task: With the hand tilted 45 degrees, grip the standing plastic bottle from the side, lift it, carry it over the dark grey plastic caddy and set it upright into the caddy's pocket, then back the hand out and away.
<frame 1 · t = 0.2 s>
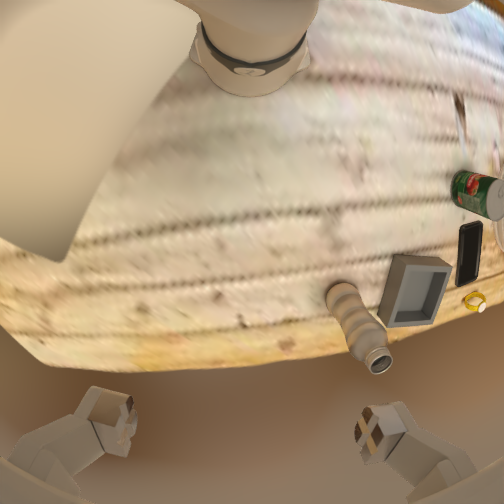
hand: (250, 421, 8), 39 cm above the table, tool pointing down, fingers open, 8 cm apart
caddy: (409, 286, 53), on the table
watch: (468, 295, 55), on the table
phone: (467, 253, 51), on the table
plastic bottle: (339, 293, 52), on the table
canned tomato: (462, 188, 46), on the table
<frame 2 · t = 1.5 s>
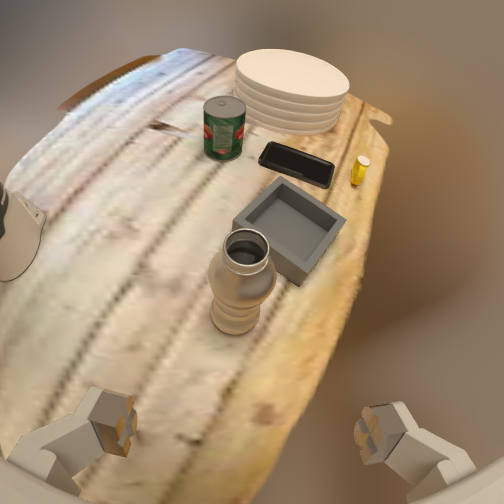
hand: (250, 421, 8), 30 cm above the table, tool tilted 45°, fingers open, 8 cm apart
caddy: (286, 236, 48), on the table
plate stack: (285, 105, 69), on the table
watch: (353, 179, 57), on the table
phone: (296, 166, 57), on the table
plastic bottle: (234, 316, 41), on the table
canned tomato: (222, 149, 57), on the table
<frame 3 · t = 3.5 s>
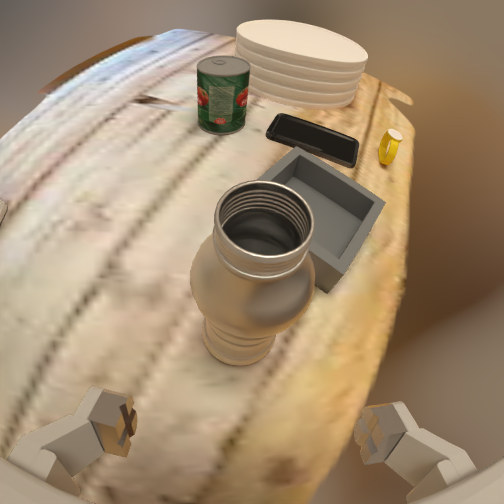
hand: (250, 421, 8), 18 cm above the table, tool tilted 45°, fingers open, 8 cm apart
caddy: (306, 225, 35), on the table
plate stack: (294, 79, 56), on the table
watch: (381, 159, 44), on the table
phone: (313, 142, 45), on the table
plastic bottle: (237, 337, 28), on the table
canned tomato: (221, 122, 44), on the table
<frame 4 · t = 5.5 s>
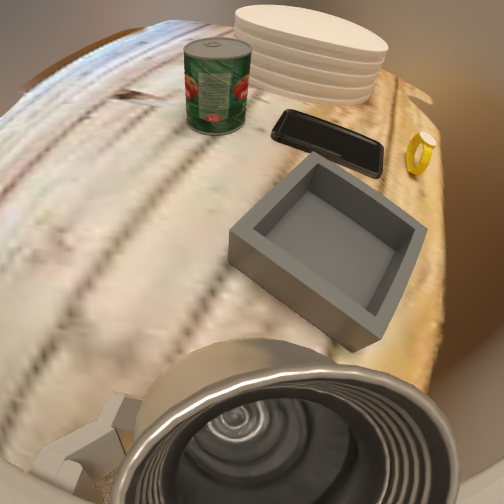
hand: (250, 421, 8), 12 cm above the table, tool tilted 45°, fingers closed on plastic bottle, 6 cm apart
caddy: (326, 258, 26), on the table
plate stack: (302, 71, 47), on the table
watch: (409, 167, 35), on the table
phone: (329, 145, 36), on the table
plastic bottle: (235, 416, 19), on the table, touching gripper
canned tomato: (215, 119, 36), on the table
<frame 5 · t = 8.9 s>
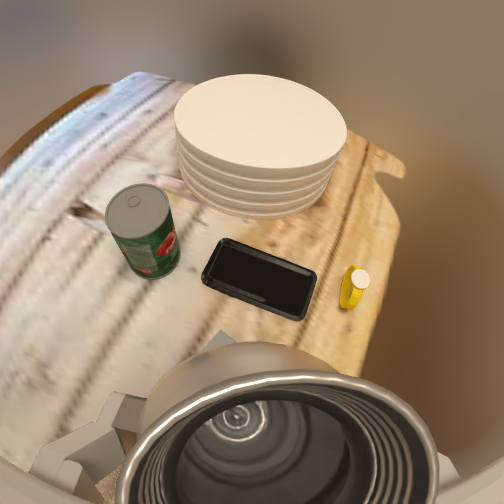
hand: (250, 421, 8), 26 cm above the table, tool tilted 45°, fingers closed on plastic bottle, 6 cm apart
plate stack: (255, 160, 52), on the table
watch: (344, 295, 40), on the table
phone: (259, 281, 40), on the table
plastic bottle: (237, 416, 19), point 13 cm above the table, touching gripper
canned tomato: (154, 255, 40), on the table
when the fingers open (15 cm above the table, at t = 12.1 s): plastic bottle stays where it is, resting on caddy.
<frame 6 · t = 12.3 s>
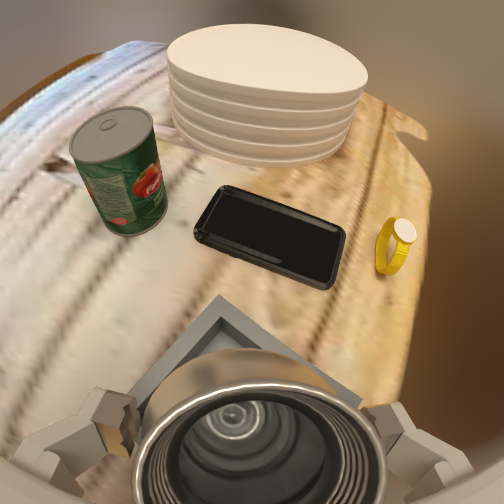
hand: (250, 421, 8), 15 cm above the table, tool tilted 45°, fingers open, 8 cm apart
caddy: (234, 414, 21), on the table
plate stack: (260, 111, 42), on the table
watch: (379, 258, 30), on the table
phone: (271, 238, 30), on the table
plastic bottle: (233, 415, 20), point 1 cm above the table, touching caddy
canned tomato: (134, 208, 30), on the table
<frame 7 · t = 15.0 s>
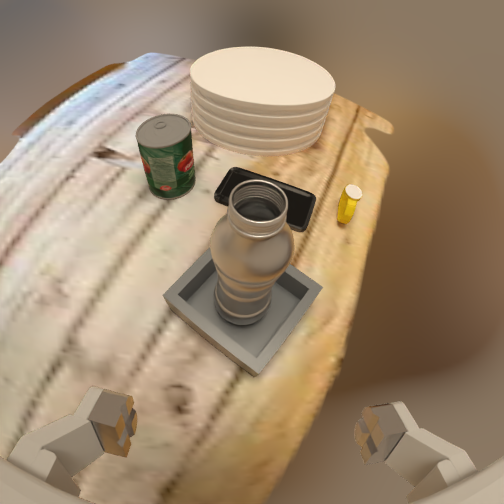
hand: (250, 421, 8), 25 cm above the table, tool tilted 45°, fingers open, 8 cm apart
caddy: (242, 306, 36), on the table
plate stack: (257, 115, 57), on the table
watch: (341, 214, 45), on the table
phone: (265, 201, 45), on the table
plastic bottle: (241, 304, 35), point 1 cm above the table, touching caddy
canned tomato: (172, 182, 45), on the table
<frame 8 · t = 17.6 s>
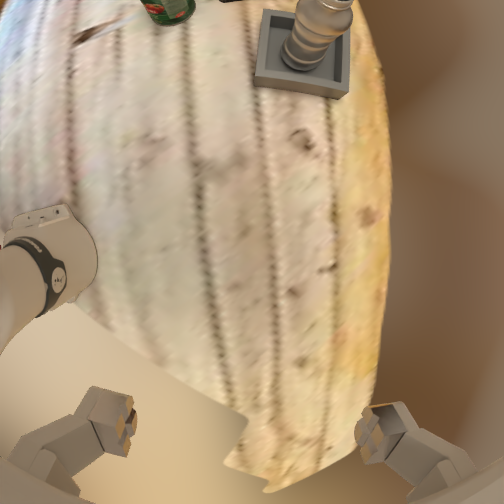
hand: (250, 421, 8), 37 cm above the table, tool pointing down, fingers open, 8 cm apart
caddy: (299, 58, 37), on the table
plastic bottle: (300, 57, 36), point 1 cm above the table, touching caddy
canned tomato: (173, 10, 34), on the table
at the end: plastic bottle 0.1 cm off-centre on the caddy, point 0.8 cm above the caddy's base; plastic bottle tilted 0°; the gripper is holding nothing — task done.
